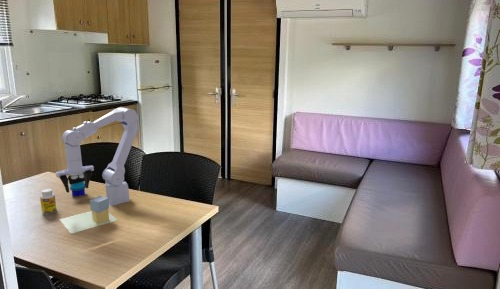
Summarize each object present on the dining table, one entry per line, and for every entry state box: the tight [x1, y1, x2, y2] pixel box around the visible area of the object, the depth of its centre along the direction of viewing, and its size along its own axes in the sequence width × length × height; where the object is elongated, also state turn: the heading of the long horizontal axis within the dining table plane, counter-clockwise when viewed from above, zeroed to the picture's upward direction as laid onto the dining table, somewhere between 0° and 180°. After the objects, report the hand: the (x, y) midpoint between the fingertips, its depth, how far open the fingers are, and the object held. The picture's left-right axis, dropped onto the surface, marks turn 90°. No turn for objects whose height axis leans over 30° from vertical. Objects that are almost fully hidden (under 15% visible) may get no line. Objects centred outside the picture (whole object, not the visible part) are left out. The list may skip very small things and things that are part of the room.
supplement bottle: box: [39, 188, 57, 215], centre depth 160 cm, size 6×6×10 cm
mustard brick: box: [91, 209, 110, 223], centre depth 153 cm, size 5×5×4 cm
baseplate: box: [59, 210, 118, 234], centre depth 154 cm, size 18×16×1 cm
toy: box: [67, 172, 86, 197], centre depth 179 cm, size 8×9×15 cm
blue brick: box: [89, 195, 110, 213], centre depth 152 cm, size 5×5×4 cm
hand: (77, 189), depth 159 cm, fingers open, 7 cm apart
